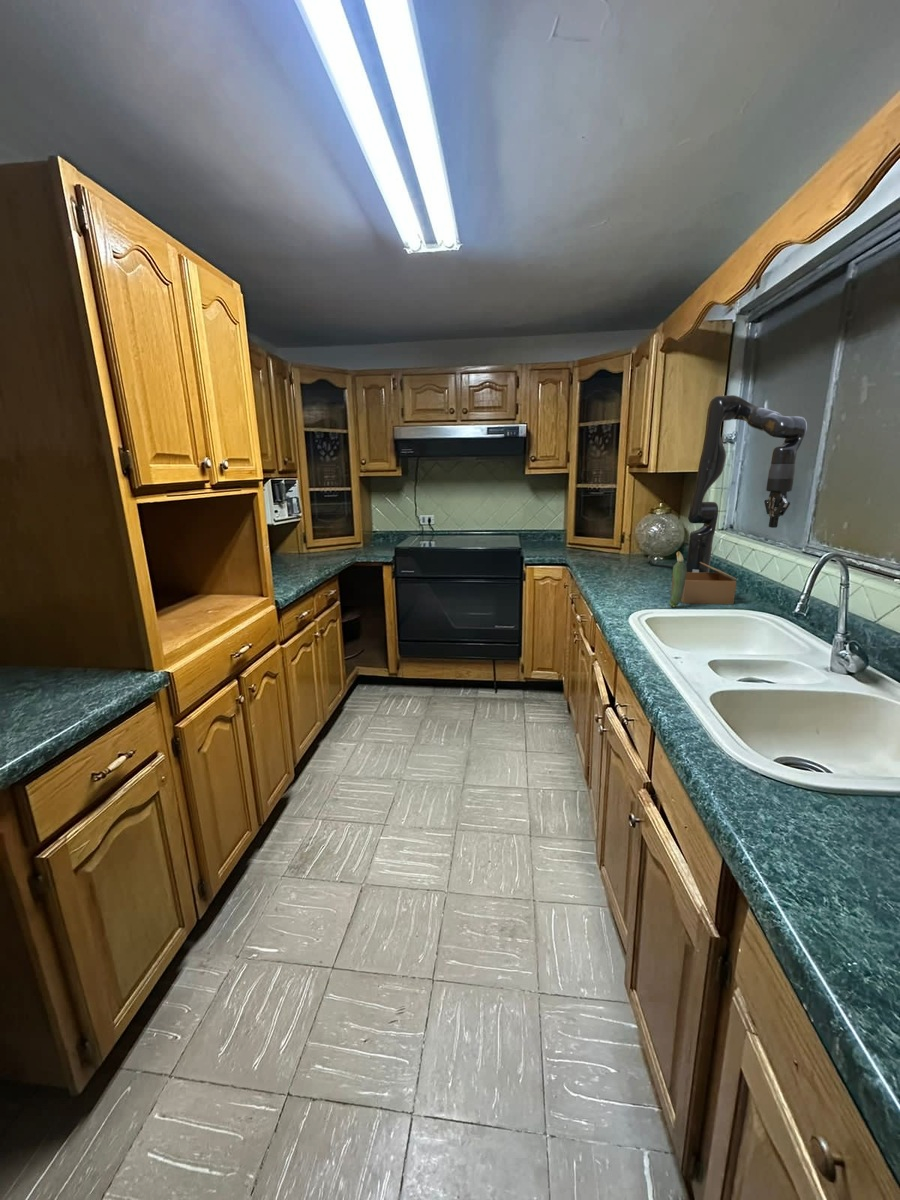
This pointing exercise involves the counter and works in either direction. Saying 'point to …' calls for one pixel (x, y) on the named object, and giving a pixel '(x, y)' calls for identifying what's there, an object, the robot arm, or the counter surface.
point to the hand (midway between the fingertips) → (772, 527)
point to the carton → (708, 588)
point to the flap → (718, 570)
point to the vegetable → (678, 580)
